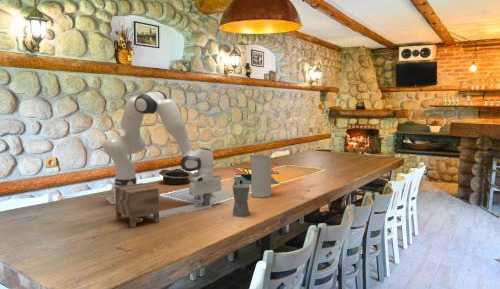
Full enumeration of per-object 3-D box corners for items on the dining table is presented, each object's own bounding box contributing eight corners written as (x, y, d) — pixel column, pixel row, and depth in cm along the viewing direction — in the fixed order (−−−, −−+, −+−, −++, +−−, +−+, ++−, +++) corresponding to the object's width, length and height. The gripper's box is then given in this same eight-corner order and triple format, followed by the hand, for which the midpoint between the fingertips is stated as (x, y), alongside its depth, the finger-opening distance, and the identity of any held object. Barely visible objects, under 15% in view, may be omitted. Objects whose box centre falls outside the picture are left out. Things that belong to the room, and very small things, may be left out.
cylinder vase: (260, 199, 231) (260, 158, 228) (247, 195, 240) (247, 156, 238) (275, 196, 239) (275, 156, 237) (261, 192, 248) (261, 154, 246)
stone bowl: (160, 179, 292) (161, 167, 291) (193, 181, 295) (194, 169, 294) (156, 185, 267) (157, 172, 267) (192, 187, 270) (193, 174, 270)
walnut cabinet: (114, 219, 188) (113, 187, 187) (142, 214, 198) (141, 183, 196) (129, 228, 175) (128, 193, 173) (159, 222, 185) (158, 188, 183)
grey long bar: (204, 204, 218) (203, 192, 217) (212, 207, 212) (212, 195, 211) (146, 216, 194) (146, 202, 194) (154, 219, 188) (153, 206, 188)
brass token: (130, 221, 187) (130, 219, 187) (140, 219, 190) (139, 217, 190) (134, 223, 183) (134, 221, 183) (144, 221, 187) (144, 219, 186)
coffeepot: (254, 216, 194) (254, 181, 193) (237, 218, 190) (237, 183, 189) (242, 209, 208) (242, 176, 207) (226, 211, 204) (226, 178, 203)
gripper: (217, 173, 221) (217, 197, 223) (187, 178, 208) (187, 202, 209) (223, 175, 217) (223, 199, 218) (193, 179, 203) (193, 205, 205)
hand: (205, 200), depth 214 cm, fingers closed on grey long bar, 3 cm apart
